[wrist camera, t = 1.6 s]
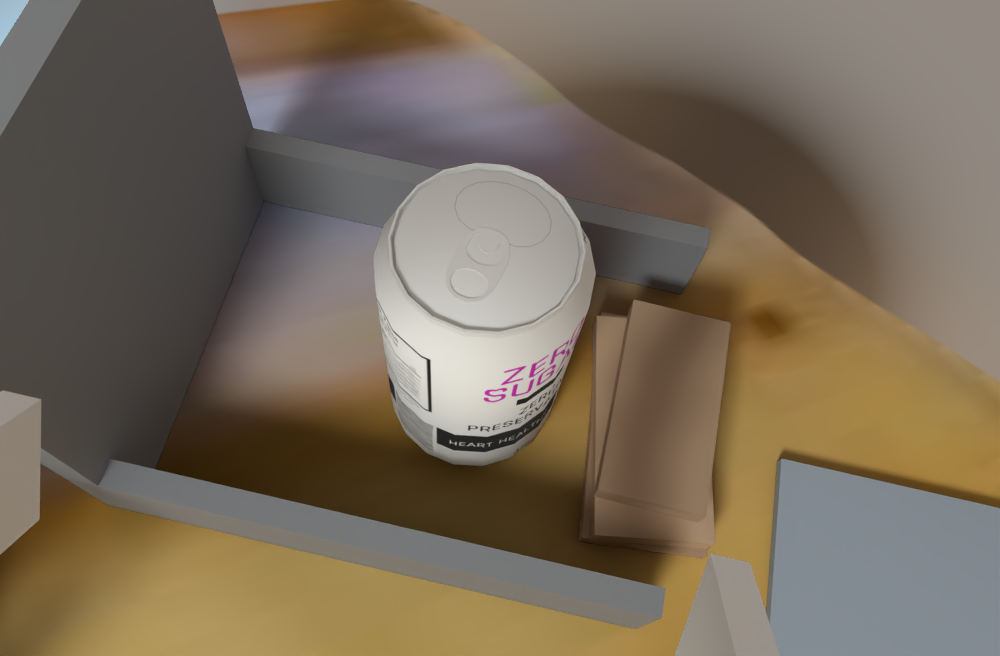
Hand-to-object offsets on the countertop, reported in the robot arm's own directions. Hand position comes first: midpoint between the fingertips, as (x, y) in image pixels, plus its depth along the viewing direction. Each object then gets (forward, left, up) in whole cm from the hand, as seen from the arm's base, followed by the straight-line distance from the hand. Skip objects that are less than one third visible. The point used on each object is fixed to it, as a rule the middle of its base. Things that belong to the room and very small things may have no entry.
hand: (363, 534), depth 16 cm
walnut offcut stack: (-9, -12, -24) cm, 29 cm away
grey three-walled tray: (+3, -12, -24) cm, 27 cm away
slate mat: (-22, -6, -24) cm, 33 cm away
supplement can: (0, -12, -24) cm, 27 cm away
